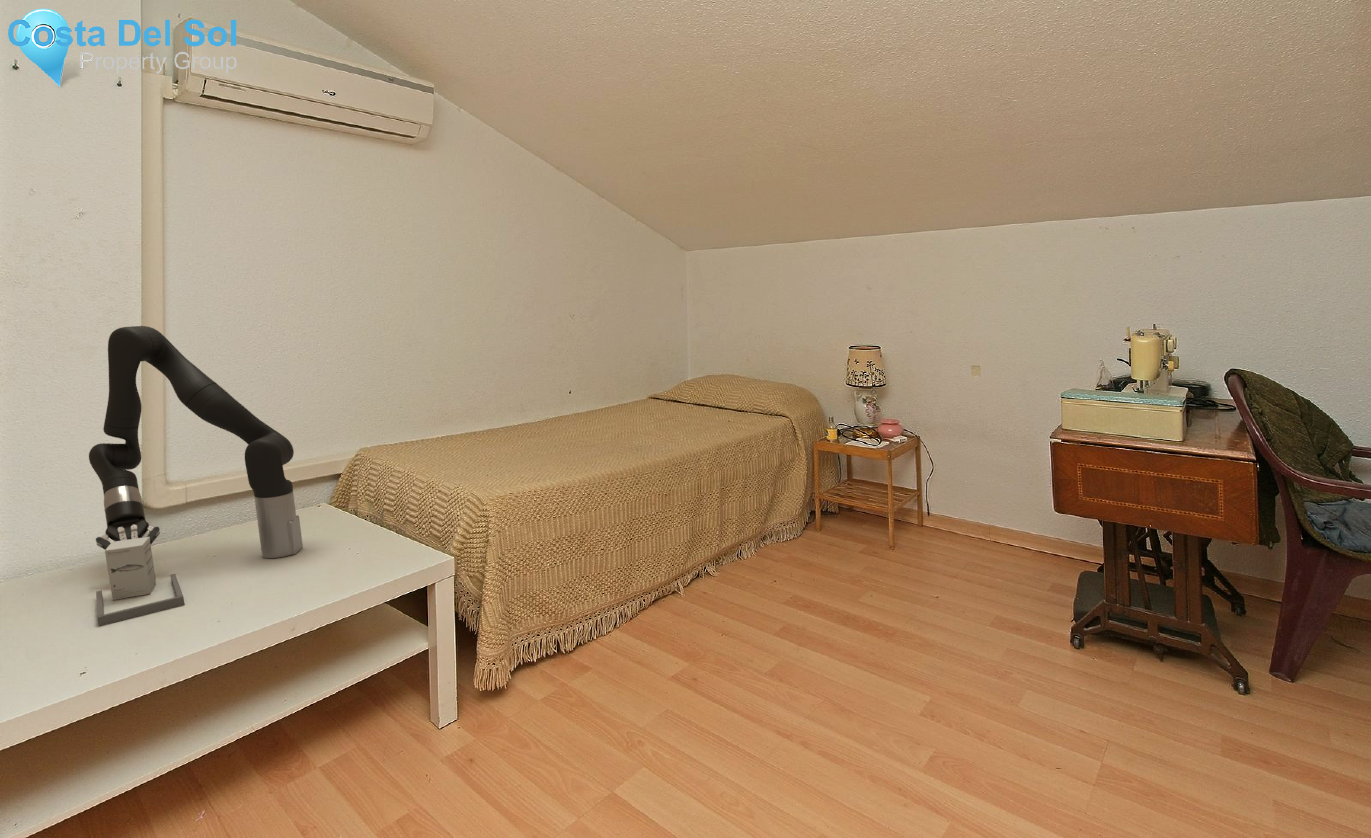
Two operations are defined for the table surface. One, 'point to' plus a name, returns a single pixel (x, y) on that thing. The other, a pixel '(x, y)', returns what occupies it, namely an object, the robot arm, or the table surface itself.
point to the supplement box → (130, 567)
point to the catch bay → (138, 610)
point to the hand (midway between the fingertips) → (133, 566)
